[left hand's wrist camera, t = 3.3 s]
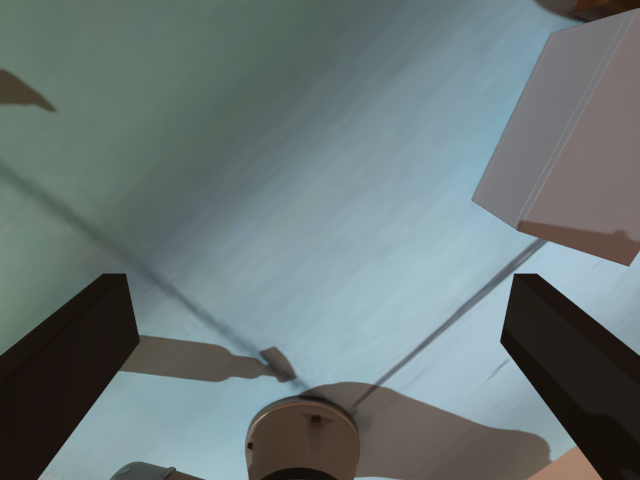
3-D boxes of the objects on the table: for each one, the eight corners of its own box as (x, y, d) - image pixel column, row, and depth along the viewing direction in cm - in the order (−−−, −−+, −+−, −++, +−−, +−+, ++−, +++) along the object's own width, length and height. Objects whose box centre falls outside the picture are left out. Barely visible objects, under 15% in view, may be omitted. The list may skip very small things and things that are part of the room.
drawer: (619, -84, 29) (721, -147, 22) (714, -42, 30) (843, -89, 23) (497, 167, 36) (543, 184, 29) (577, 194, 37) (642, 218, 30)
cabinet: (549, 33, 33) (638, 7, 24) (647, 71, 34) (768, 60, 25) (470, 200, 39) (518, 231, 29) (557, 228, 40) (629, 266, 30)
